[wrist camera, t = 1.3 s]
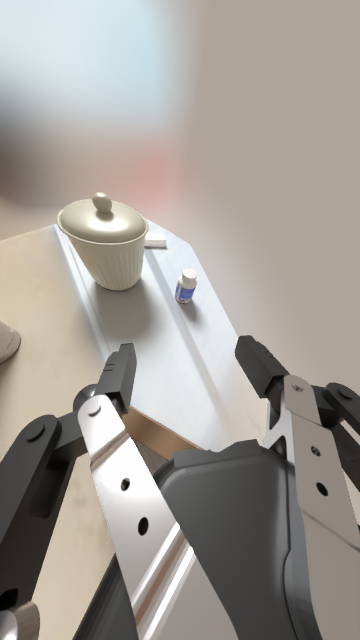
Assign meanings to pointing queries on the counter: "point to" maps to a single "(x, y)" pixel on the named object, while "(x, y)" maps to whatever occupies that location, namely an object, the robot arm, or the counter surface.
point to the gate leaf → (154, 434)
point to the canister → (106, 239)
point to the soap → (155, 240)
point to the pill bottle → (186, 285)
